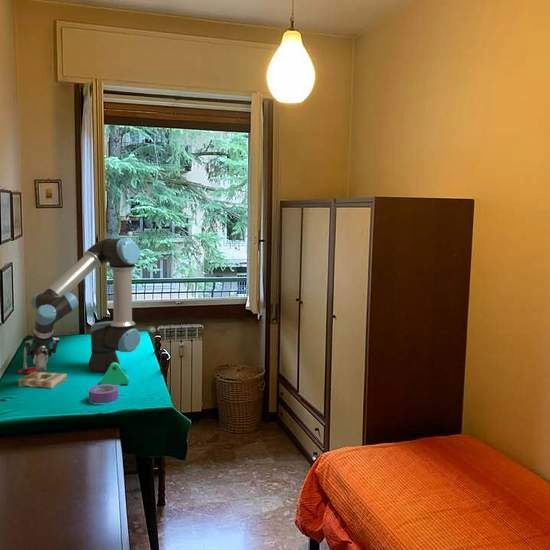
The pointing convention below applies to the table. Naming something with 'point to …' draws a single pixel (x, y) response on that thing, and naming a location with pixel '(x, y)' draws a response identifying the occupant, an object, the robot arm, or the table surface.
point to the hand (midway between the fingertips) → (40, 360)
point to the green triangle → (115, 376)
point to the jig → (42, 379)
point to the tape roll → (103, 393)
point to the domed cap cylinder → (41, 359)
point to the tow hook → (25, 369)
